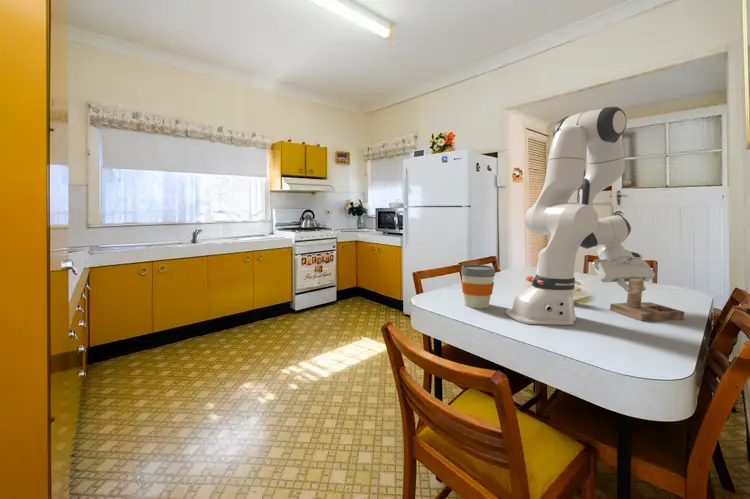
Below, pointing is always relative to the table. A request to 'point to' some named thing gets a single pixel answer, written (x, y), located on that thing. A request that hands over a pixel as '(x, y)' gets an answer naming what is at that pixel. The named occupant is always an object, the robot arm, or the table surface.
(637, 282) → the pin
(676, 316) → the pin board
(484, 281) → the reusable coffee cup
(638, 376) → the table surface
